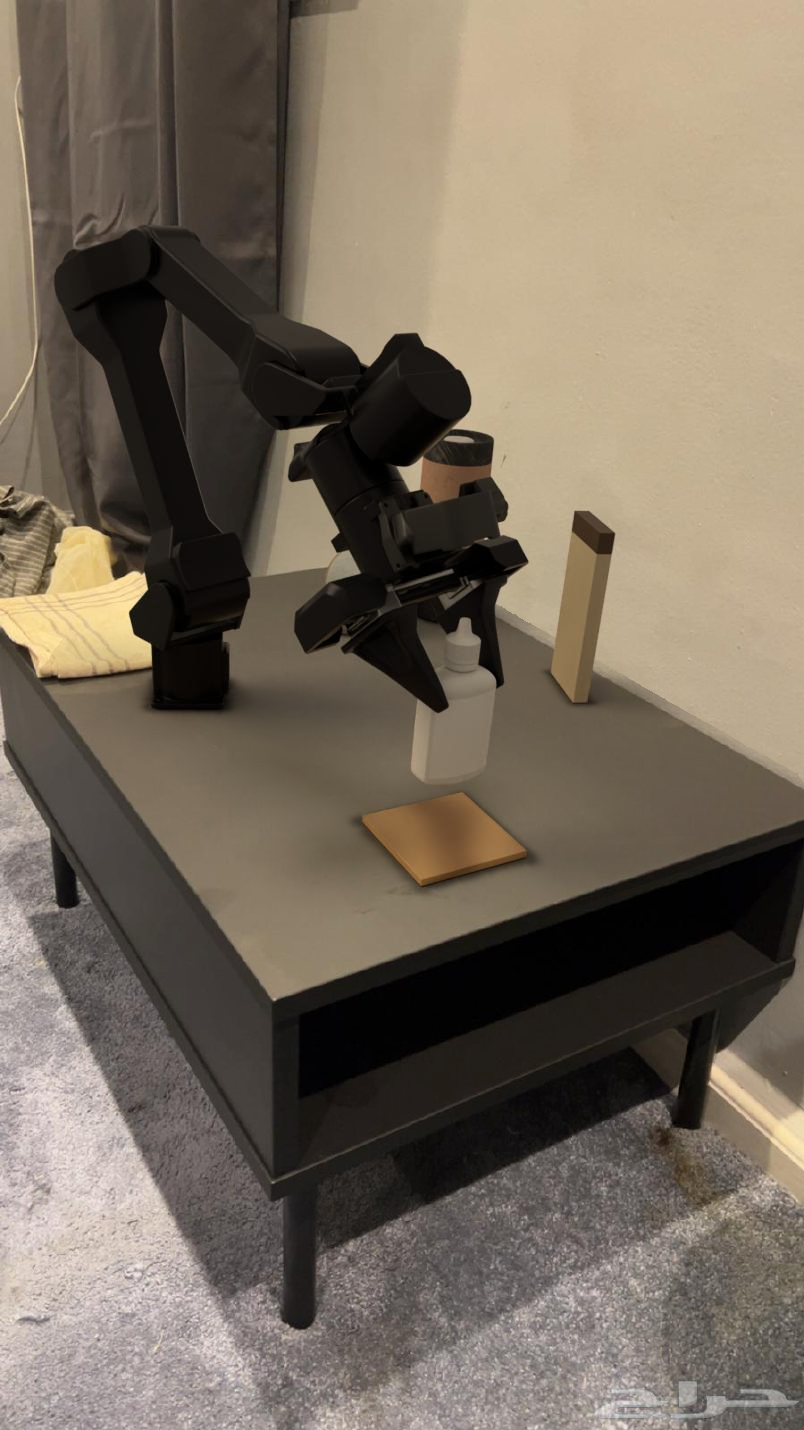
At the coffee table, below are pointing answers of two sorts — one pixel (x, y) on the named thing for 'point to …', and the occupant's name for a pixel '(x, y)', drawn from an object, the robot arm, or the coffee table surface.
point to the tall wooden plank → (582, 604)
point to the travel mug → (453, 481)
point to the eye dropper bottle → (456, 715)
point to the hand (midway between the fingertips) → (471, 698)
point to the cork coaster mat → (443, 838)
